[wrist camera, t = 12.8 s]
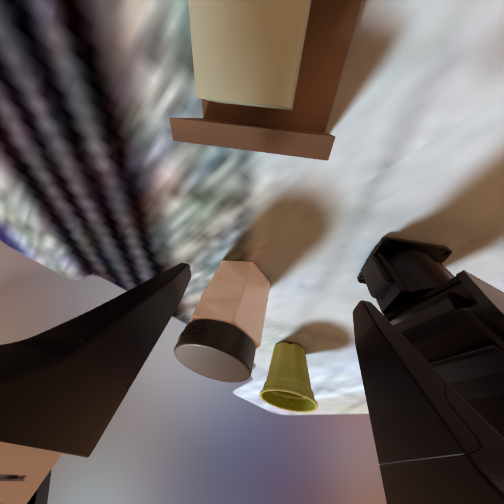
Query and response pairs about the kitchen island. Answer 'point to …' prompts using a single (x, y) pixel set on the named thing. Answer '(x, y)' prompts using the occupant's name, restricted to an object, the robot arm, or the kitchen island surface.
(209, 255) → the kitchen island surface
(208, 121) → the shelf frame
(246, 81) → the beige rectangular block
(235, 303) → the jar
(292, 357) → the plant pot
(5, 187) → the kitchen island surface
